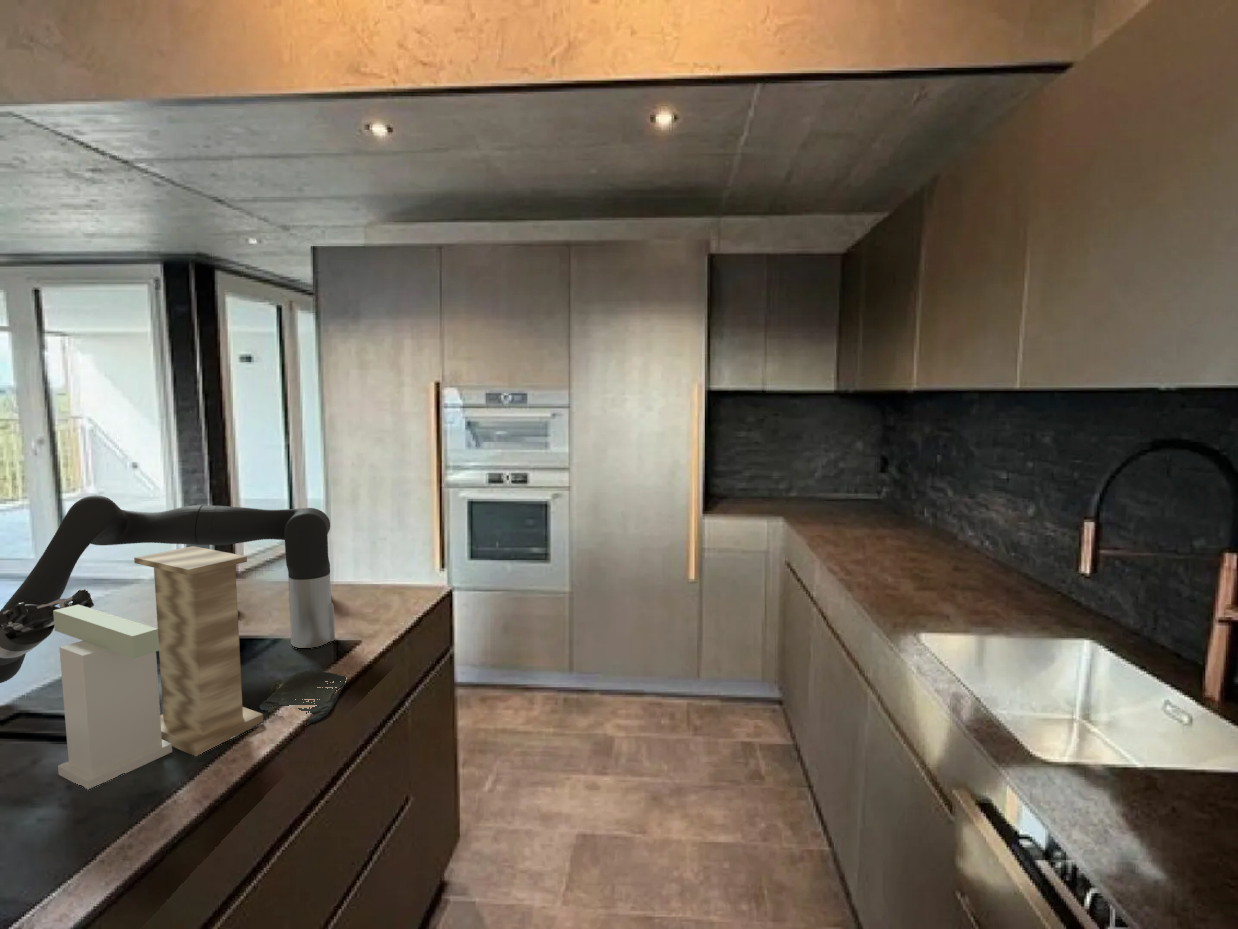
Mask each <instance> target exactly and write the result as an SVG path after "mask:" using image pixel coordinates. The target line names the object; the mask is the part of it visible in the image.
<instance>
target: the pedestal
mask: <svg viewBox="0 0 1238 929" xmlns="http://www.w3.org/2000/svg"><path fill="white" fill-rule="evenodd" d="M58 648H59V657H60V672H61V686H62V693H63V694H62V696H63V709H64V710H63V711H64V719H65V720H64V721H65V735H66V745H67V747H66V748H67V758H68V759H67V760H68V761H66V762H62V763H61V764H58V765H57V769H58V770H57V771H58V772H57V773H58V776H60V777H62V778H63V779H66V780H68V781H69V782H71V783H73V784H75V783H76V784H75V785H77V784H78V785H77V786H79V785H82V786H84V787H85V788H87V789H89V788H91V787H93V786H96V785H99V784H101V783H103V782H106V781H107V780H110V779H112V780H114V779H113V778H115V777H117V776H118V775H120V774H122V773H125V774H127V773H129V772H131V771H132V772H133V771H134V770H136V769H138V768H140V767H143V766H145V765H147V764H149V763H151V762H154V761H156V760H157V759H160V758H162V757H164V756H166V755H169V754H170V753H173V746H172V743H169V742H167V741H165V740H162V737H161V721H160V715H161V711H160V709H161V708H160V692H159V691H160V690H159V677H158V675H159V674H158V663H157V662H158V661H157V651H156V652H153V653H150V654H147V655H144V656H141V657H137V658H131V657H128V656H125V655H122V654H119V653H117V652H114V651H111V650H108V649H105V648H102V647H100V646H97V645H94V644H91V643H88V642H85V641H83V640H79V641H76V642H73V643H69V644H66V645H62V646H59V647H58ZM117 778H118V777H117ZM115 779H116V778H115ZM110 781H111V780H110ZM106 783H107V782H106ZM99 786H100V785H99Z"/></svg>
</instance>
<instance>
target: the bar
mask: <svg viewBox="0 0 1238 929" xmlns="http://www.w3.org/2000/svg"><path fill="white" fill-rule="evenodd" d="M53 615H54V632H57V633H60V634H63V635H66V636H69V637H72V638H74V639H78V640H79V641H85V642H88V643H91V644H94V645H97V646H100V647H102V648H105V649H108V650H111V651H114V652H117V653H119V654H122V655H125V656H128V657H131V658H137V657H141V656H144V655H147V654H150V653H153V652H156V653H157V652H159V638H158V627H153V626H150V625H146V624H144V623H141V622H137V621H133V620H130V619H127V618H124V617H121V616H117V615H114V614H110V613H107V612H104V611H100V610H97V609H95V608H92V607H91V608H88V607H85V606H82V605H74V606H69V607H66V608H61V609H57V610H53Z"/></svg>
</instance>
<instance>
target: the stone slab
mask: <svg viewBox="0 0 1238 929" xmlns="http://www.w3.org/2000/svg"><path fill="white" fill-rule="evenodd" d="M337 674H338V673H333V672H329V671H328V672H327V671H321V670H313V669H310V670H307V669H306V670H303V671H298V672H295V673H294V674H292V676H291V677H289V679H287V680H288V681H287V680H286V681H285V682H283V684H282V685H281V686H280V688H279V687H278V688H277V689H276V690H277V691H276V690H275V691H273V692H274V694H273V693H271V694H272V695H271V694H270V695H271V696H270V695H269V696H270V697H269V696H268V697H267V698H266V699H267V700H266V699H265V700H266V701H265V700H263V701H262V702H263V703H262V702H261V703H262V704H261V703H260V704H261V705H262V706H263V707H268V708H269V707H272V706H273V707H274V706H278V707H279V706H289V705H317V706H315V707H312V708H311V709H310V707H309V709H307V708H304V709H302V708H298V709H299V710H301V711H308V713H309V711H310V713H312V714H313V716H311V717H310V719H309V720H308V723H307V725H310V724H312V723H316V722H318V721H320V720H322V719H323V718H325V717H326V716H327V715H329V713H330V712H331V710H332V709H333V708H334V705H335V704H336V702H337V701H338V699H339V698H340V695H341V693H342V691H343V690H342V688H341V687H343V685H344V684H345V681H346V677H347V676H346V675H344V676H341V674H339V675H337ZM345 676H346V677H345ZM325 681H328V682H325ZM333 681H334V683H332V682H333ZM340 681H341V682H340ZM330 682H331V683H330ZM327 683H328V684H327ZM317 687H321V688H317ZM322 687H323V688H322ZM325 687H333V689H332V688H328V689H327V688H325ZM335 687H337V688H335ZM339 688H341V689H340V690H339V691H338V692H337V694H335V695H334V693H335V692H336V690H338V689H339ZM341 690H342V691H341ZM340 692H341V693H340ZM339 694H340V695H339ZM295 699H296V700H295ZM302 699H303V700H302ZM304 699H315V702H313V701H314V700H309V702H306V701H308V700H304ZM317 699H318V700H317ZM319 699H320V700H319ZM303 702H304V703H303ZM311 702H312V703H311ZM314 703H315V704H314ZM306 714H307V712H306ZM307 725H306V726H307Z"/></svg>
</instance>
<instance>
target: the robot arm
mask: <svg viewBox="0 0 1238 929" xmlns="http://www.w3.org/2000/svg"><path fill="white" fill-rule="evenodd" d="M330 528H331V520H330V518H329V516H327V514H326V513H325V512H323V511H322V510H320V509H318V508H315V507H304V508H291V509H290V508H288V509H287V508H286V509H262V508H251V507H243V506H241V507H240V506H229V505H228V506H227V505H212V504H211V505H209V504H208V505H207V504H204V505H203V504H194V505H186V506H181V507H176V508H173V509H169V510H165V511H164V510H163V511H157V512H156V511H155V512H152V511H151V512H149V511H147V512H146V511H133V510H132V511H131V510H124V509H121V507H119V506H118V505H117V503H115V502H114V501H113V500H111V498H109V497H106V496H103V495H96V494H95V495H89V496H85V497H83V498H81V499H79V500H77V501H75V502H74V503H73V504H72V506H71V507H70V508H69V509H68V511H67V512H66V514H65V515H64V517H63V520H61V522H60V525H59V526H58V529H57V530H56V531H55V533H54V535H53V537H52V538H51V540H50V542H49V543H48V545H47V547H46V548H45V550H44V552H43V553H42V555H41V556H40V558H39V560H38V561H37V562H36V564H35V565H34V567H33V568H32V570H31V571H30V573H29V574H28V575H27V577H26V578H25V579H24V581H23V582H22V584H20V586H19V587H18V588H17V590H16V591H14V593H13V594H12V595H11V596H10V598H9V599H8V600H7V602H6V603H5V604H4V606H3V607H2V608H1V609H0V684H3V683H6V682H7V681H10V680H12V678H14V677H15V676H16V675H17V674H18V672H20V669H21V667H22V665H23V663H24V660H25V658H26V654H27V653H29V652H30V651H32V650H34V649H35V648H36V647H37V646H38V645H40V644H41V643H42V642H44V641H45V640H46V639H47V638H48V637H49V636H50V635H51V634H52V633H53V631H54V630H55V628H54V615H53V610H57V609H61V608H66V607H70V606H74V605H82V606H85V607H88V608H91V609H92V608H93V607H94V606H95V603H94V602H93V599H92V597H91V595H92V594H91V593H90V592H89V591H88V590H86V589H85V588H82V589H79V590H78V591H76V592H75V593H73V595H72V596H70V597H67V598H62V596H63V594H64V592H65V590H66V588H67V585H68V582H69V581H70V578H71V575H72V573H73V571H74V568H75V567H76V564H77V562H78V561H79V559H80V558H81V556H82V555H83V553H84V552H85V550H87V548H88V547H89V546H90V545H94V546H116V545H131V544H134V545H135V544H145V543H147V544H151V543H152V544H153V543H154V544H155V543H156V544H169V545H170V544H171V545H193V546H194V545H195V546H227V545H235V544H243V543H244V544H245V543H248V542H249V543H250V542H254V541H262V540H264V541H265V540H275V541H276V540H278V541H279V540H280V541H284V549H285V550H284V551H285V552H284V553H285V566H286V569H287V574H288V576H287V577H288V597H289V601H288V602H289V622H290V623H289V625H290V645H291V644H292V645H293V646H295V647H298V648H311V647H317V646H320V645H323V644H326V643H328V642H329V641H331V640H335V641H336V638H335V637H336V636H335V634H336V633H335V631H336V630H335V606H334V603H333V602H332V588H331V587H332V586H331V584H332V582H331V563H330V557H329V541H328V539H329V538H328V537H329V535H328V534H329V532H330ZM328 644H329V643H328ZM326 645H327V644H326ZM317 648H318V647H317ZM311 649H312V648H311Z"/></svg>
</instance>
